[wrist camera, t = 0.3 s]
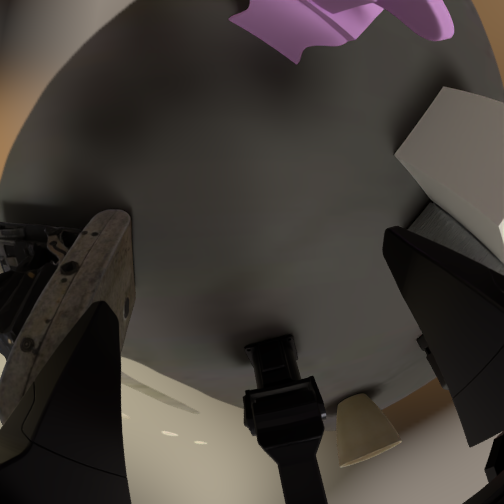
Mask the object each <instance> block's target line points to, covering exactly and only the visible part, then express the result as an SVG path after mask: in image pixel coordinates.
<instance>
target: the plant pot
mask: <svg viewBox="0 0 504 504" xmlns="http://www.w3.org/2000/svg"><path fill="white" fill-rule="evenodd" d="M401 442H402V440H401V438H400V437H399V435H398V433H397V432H396V430H395V428H394V427H393V426H392V424H391V423H390V421H389V420H388V419H387V417H386V416H385V415H384V413H383V412H382V411H381V410H380V409H379V408H378V406H377V405H376V404H375V403H374V402H373V401H372V400H371V399H370V398H369V397H368V396H367V395H366V394H364V393H361V394H357V395H354V396H351V397H349V398H347V399H345V400H343V401H342V402H340V403H339V404H338V407H337V450H338V458H339V466H340V467H344V466H349V465H352V464H355V463H358V462H361V461H363V460H366V459H368V458H371V457H373V456H376V455H378V454H380V453H382V452H384V451H386V450H388V449H390V448H392V447H394V446H396V445H398V444H399V443H401Z"/></svg>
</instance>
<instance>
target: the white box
mask: <svg viewBox="0 0 504 504" xmlns="http://www.w3.org/2000/svg"><path fill="white" fill-rule="evenodd" d="M394 156H395V157H396V158H397V159H398V160H399V161H400V162H401V164H402V165H403V166H404V167H405V168H406V169H407V171H408V172H409V173H410V174H411V175H412V177H413V178H414V179H415V180H416V182H417V183H418V184H419V185H420V187H421V188H422V189H423V190H424V192H425V193H426V194H427V196H428V197H429V198H430V199H431V200H432V201H433V202H435V203H436V204H437V205H438V206H440V207H441V208H442V209H444V210H445V211H446V212H447V213H449V214H450V215H451V216H452V217H453V218H455V219H456V220H457V221H458V222H459V223H461V224H462V225H463V226H464V227H465V228H466V229H468V230H469V231H470V232H471V233H472V234H473V235H474V236H475V237H476V238H478V239H479V240H480V241H481V242H482V243H483V244H484V245H485V246H486V247H487V248H488V249H489V250H490V251H491V252H492V253H493V254H494V255H495V256H496V257H497V258H498V259H499V260H500V261H501V262H502V263H503V264H504V103H502V102H499V101H496V100H493V99H490V98H487V97H484V96H480V95H477V94H473V93H469V92H466V91H462V90H457V89H453V88H449V87H444V86H443V88H442V89H441V91H440V92H439V93H438V95H437V96H436V98H435V99H434V101H433V102H432V104H431V105H430V106H429V108H428V109H427V111H426V112H425V113H424V115H423V116H422V118H421V119H420V120H419V122H418V123H417V125H416V126H415V127H414V129H413V130H412V131H411V133H410V134H409V135H408V137H407V138H406V140H405V141H404V142H403V144H402V145H401V146H400V148H399V149H398V150H397V151H396V153H395V154H394Z"/></svg>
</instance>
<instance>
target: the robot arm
mask: <svg viewBox="0 0 504 504" xmlns="http://www.w3.org/2000/svg"><path fill="white" fill-rule="evenodd" d="M382 250H383V256H384V258H385V260H386V262H387V264H388V266H389V268H390V270H391V273H392V275H393V277H394V279H395V281H396V283H397V286H398V288H399V290H400V292H401V294H402V296H403V298H404V300H405V301H406V303H407V305H408V307H409V309H410V310H411V312H412V314H413V316H414V318H415V320H416V321H417V323H418V325H419V327H420V329H421V331H422V333H423V335H424V337H425V339H426V341H427V343H428V345H429V347H430V349H431V351H432V353H433V355H434V357H435V360H436V362H437V364H438V366H439V368H440V371H441V373H442V375H443V377H444V380H445V382H446V384H447V387H448V389H449V392H450V394H451V396H452V398H453V399H452V400H453V402H454V405H455V407H456V410H457V413H458V415H459V418H460V421H461V424H462V427H463V430H464V433H465V436H466V439H467V442H468V445H469V447H473V446H475V445H477V444H479V443H481V442H483V441H485V440H487V439H489V438H491V437H493V436H494V435H496V434H498V433H500V432H502V431H503V432H502V433H501V434H499V435H498V436H497V438H495V439H494V442H493V445H492V448H491V452H490V455H489V458H488V461H487V464H486V467H485V473H486V476H487V479H488V482H489V483H488V484H487V485H486V486H485V487H484V488H483V489H481V490H480V491H479V492H477V493H476V494H475V495H473V496H472V497H471V498H469V499H468V500H467V501H466V502H464V503H463V504H504V275H502V274H500V273H498V272H496V271H494V270H492V269H491V268H488V267H487V266H485V265H483V264H481V263H479V262H477V261H475V260H473V259H471V258H469V257H467V256H465V255H462V254H460V253H458V252H456V251H454V250H452V249H450V248H448V247H445V246H443V245H441V244H439V243H437V242H434V241H432V240H430V239H428V238H425V237H423V236H421V235H418V234H416V233H414V232H411V231H409V230H406V229H404V228H401V227H399V226H394V227H390V228H387V229H386V230H385V233H384V241H383V249H382ZM245 352H246V354H247V356H248V358H249V360H250V362H251V364H252V366H253V368H254V372H255V377H256V383H257V389H254V390H245V393H246V395H245V396H243V403H244V425H245V426H246V427H248V428H249V430H250V431H251V434H252V435H253V436H257V441H258V444H259V445H260V446H261V448H262V449H263V450H264V451H265V452H266V453H267V454H268V455H269V456H270V457H271V458H272V459H273V460H274V461H275V462H276V463H277V464H278V469H279V474H280V479H281V483H282V488H283V493H284V498H285V503H286V504H328V503H327V498H326V494H325V490H324V486H323V483H322V478H321V474H320V470H319V467H318V462H317V459H316V453H317V450H318V447H319V444H320V441H321V439H322V435H323V432H324V424H323V421H324V420H326V412H325V407H324V403H323V400H322V397H321V394H320V392H319V389H318V387H317V384H316V382H315V379H314V376H309V377H308V378H304V379H301V376H300V373H299V369H298V366H297V362H296V360H298V356H297V352H296V348H295V343H294V339H293V336H292V335H287V336H283V337H280V338H276V339H272V340H268V341H265V342H261V343H257V344H253V345H249V346H246V347H245ZM0 504H131V499H130V493H129V487H128V480H127V475H126V466H125V458H124V448H123V435H122V417H121V354H120V335H119V320H118V317H117V316H116V314H115V313H114V312H113V310H112V309H111V308H110V306H109V305H108V304H107V302H106V301H104V300H101V301H96V302H93V303H92V304H91V305H90V307H89V308H88V309H87V310H86V311H85V313H84V314H83V315H82V316H81V318H80V319H79V320H78V321H77V323H76V324H75V325H74V326H73V328H72V329H71V330H70V331H69V333H68V334H67V335H66V337H65V338H64V339H63V340H62V342H61V343H60V344H59V346H58V347H57V348H56V350H55V351H54V352H53V354H52V355H51V357H50V358H49V359H48V361H47V362H46V364H45V365H44V366H43V368H42V369H41V371H40V372H39V374H38V375H37V376H36V378H35V381H33V382H32V384H31V385H30V387H29V388H28V390H27V391H26V393H25V394H24V396H23V397H22V399H21V400H20V402H19V403H18V405H17V406H16V407H15V409H14V410H13V412H12V413H11V415H10V416H9V417H8V419H7V420H6V422H5V423H4V425H3V426H2V428H1V429H0Z"/></svg>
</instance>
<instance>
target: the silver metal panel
mask: <svg viewBox="0 0 504 504" xmlns="http://www.w3.org/2000/svg"><path fill="white" fill-rule="evenodd" d="M408 230H409V231H411V232H414V233H416V234H418V235H421V236H423V237H425V238H428V239H430V240H432V241H434V242H437V243H439V244H441V245H443V246H445V247H448V248H450V249H452V250H454V251H456V252H458V253H460V254H462V255H465V256H467V257H469V258H471V259H473V260H475V261H477V262H479V263H481V264H483V265H485V266H487V267H488V268H491V269H492V270H494V271H496V272H498V273H500V274H502V275H504V264H503V263H502V262H501V261H500V260H499V259H498V258H497V257H496V256H495V255H494V254H493V253H492V252H491V251H490V250H489V249H488V248H487V247H486V246H485V245H484V244H483V243H482V242H481V241H480V240H479V239H478V238H476V237H475V236H474V235H473V234H472V233H471V232H470V231H469V230H468V229H466V228H465V227H464V226H463V225H462V224H461V223H459V222H458V221H457V220H456V219H455V218H453V217H452V216H451V215H450V214H449V213H447V212H446V211H445V210H444V209H442V208H441V207H440V206H438V205H437V204H436V203H435V202H434V203H433V204H432V203H431V202H430V203H429V204H428V205H427V207H426V208H425V209H424V210H423V212H422V213H421V214H420V215H419V217H418V218H417V219H416V220H415V221H414V223H413V224H412V225H411V226H410V228H409V229H408Z"/></svg>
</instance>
